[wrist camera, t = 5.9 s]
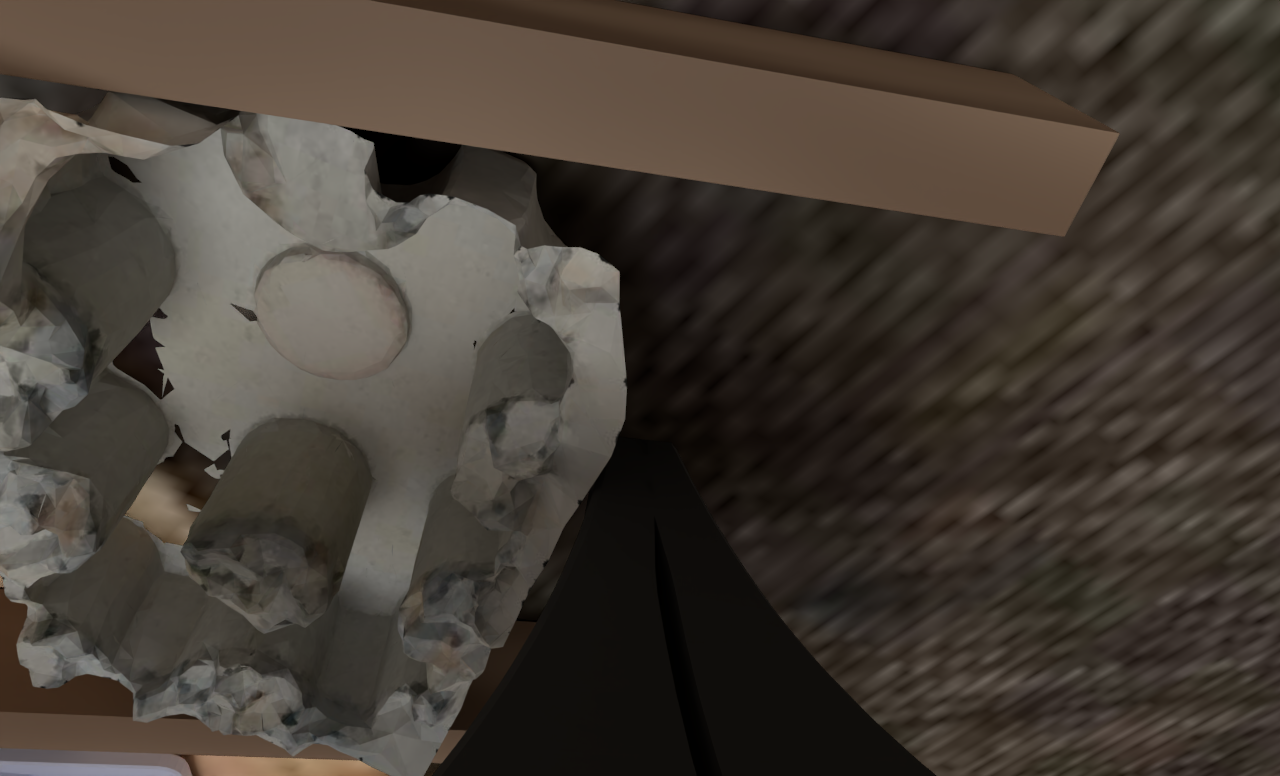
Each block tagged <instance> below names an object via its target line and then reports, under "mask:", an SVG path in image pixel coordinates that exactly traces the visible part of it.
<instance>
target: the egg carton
mask: <svg viewBox="0 0 1280 776" xmlns="http://www.w3.org/2000/svg"><path fill="white" fill-rule="evenodd" d="M108 156H110V157H115V158H117V159H118V160H120V161H121V162H123V163H124V164H126V165H128V167H129V168H130V170H131V171H132V172H133V174H134V175H135V177H136V178H137V179H138V180H139V181H141V182H142V183H132V182H131V181H130V180H128V179H127V178H125V177H123V176H121V175H119V174H117V173H115V172H114V171H113V170H112V169H111V166H110V162H109V159H108ZM536 176H537V174H536V173H535V172H534V171H533V170H532V168H531V167H530V166H529V165H527V164H526V163H525V162H524V161H522V160H519V159H517V158H515V157H513V156H511V155H508V154H506V153H504V152H502V151H501V150H494V149H488V148H481V147H475V146H468V145H462V146H461V147H460V149H459V151H458V152H457V154H456V155H455V157H454V158H453V159H452V160H451V161H450V163H449V164H448V165H447V166H446V167H445V168H444V169H443V170H442V171H441V172H440V173H439V174H437V175H435V176H433V177H432V178H430V179H428V180H426V181H423V182H420V183H417V184H413V185H396V184H383V183H380V180H379V173H378V167H377V161H376V155H375V148H374V143H373V142H371V141H368V140H365V139H363V138H361V137H360V136H358V135H356V134H355V133H353V132H351V131H350V130H347V129H344V128H342V127H339V126H337V125H331V124H324V123H318V122H311V121H305V120H298V119H291V118H285V117H278V116H272V115H265V114H259V113H252V112H246V111H239V110H233V109H226V108H219V107H213V106H206V105H200V104H193V103H187V102H180V101H174V100H167V99H161V98H154V97H148V96H141V95H134V94H128V93H121V92H115V91H108V92H107V94H106V95H105V97H104V98H103V100H102V102H101V103H100V104H98V105H96V106H94V107H92V108H90V109H87V110H85V111H83V112H80V113H77V114H68V113H62V112H56V111H50V110H48V109H46V108H45V107H44V106H42V105H41V104H40V103H39V102H38V101H37V100H36V99H17V98H1V97H0V576H2V578H3V584H4V591H5V595H6V597H7V598H8V599H9V600H10V601H11V602H17V603H23V604H26V605H27V606H28V610H27V618H26V621H25V623H24V625H23V628H22V630H21V633H20V635H19V638H18V641H17V644H16V645H17V653H18V658H19V662H20V665H22V666H24V667H26V668H28V669H29V674H30V677H31V681H32V685H33V686H34V687H39V688H45V689H49V688H58V687H60V686H62V685H64V684H66V683H67V682H69V681H70V680H71V679H73V678H74V677H75V676H80V675H84V674H91V675H96V676H100V677H105V678H109V679H113V680H117V681H119V682H120V683H121V684H122V685H124V686H125V687H126V688H128V689H129V690H130V691H131V692H133V721H139V722H145V723H147V722H150V721H153V720H156V719H159V718H162V717H165V716H170V715H177V714H187V715H190V716H194V717H196V718H198V719H199V720H200V721H201V722H202V723H204V724H205V725H206V726H207V727H209V728H210V729H211V731H212V732H214V731H217V730H219V731H220V732H221V733H222V734H223V735H229V734H232V735H241V736H252V735H257V736H259V737H261V738H263V739H265V740H267V741H269V742H271V743H273V744H275V745H277V746H279V747H281V748H283V749H285V750H286V751H287V752H288V753H289V754H290V755H291V756H293V757H294V756H295V755H296V754H298V753H299V752H301V751H302V750H303V749H305V748H307V747H308V746H310V745H312V744H323V745H328V746H330V747H332V748H334V749H336V750H338V751H339V752H342V753H344V754H347V755H349V756H352V757H354V758H357V759H358V760H360V761H362V762H364V763H366V764H368V765H369V766H371V767H373V768H375V769H377V770H379V771H382V772H384V773H386V774H388V775H390V776H424V774H425V772H426V771H427V769H428V767H429V765H430V763H431V762H432V760H433V758H434V756H435V755H436V753H437V751H438V749H439V747H440V746H441V744H442V742H443V740H444V738H445V737H446V735H447V733H448V731H449V729H450V727H451V726H452V724H453V722H454V720H455V719H456V717H457V715H458V713H459V712H460V710H461V708H462V705H463V702H464V700H465V697H466V694H467V692H468V689H469V686H470V684H471V683H472V681H473V680H475V679H476V678H477V677H479V676H480V675H481V674H482V673H483V671H484V670H485V667H486V664H487V661H488V658H489V654H490V651H491V649H492V648H499V647H503V646H504V644H505V642H506V640H507V638H508V636H509V634H510V631H511V629H512V627H513V625H514V623H515V621H516V619H517V617H518V614H519V612H520V610H521V608H522V606H523V603H524V601H525V599H526V597H527V595H528V593H529V591H530V589H531V587H532V586H533V584H534V582H535V581H536V579H537V578H538V576H539V575H540V573H541V572H542V570H543V569H544V567H545V566H546V564H547V562H548V561H549V558H550V556H551V554H552V552H553V550H554V547H555V545H556V543H557V541H558V539H559V537H560V534H561V532H562V530H563V528H564V526H565V525H566V523H567V522H568V521H569V519H570V518H571V516H572V515H573V513H574V512H575V511H576V509H577V508H578V506H579V505H580V503H581V502H582V500H583V499H584V497H585V496H586V494H587V493H588V491H589V490H590V488H591V487H592V485H593V484H594V482H595V481H596V479H597V478H598V476H599V475H600V473H601V472H602V470H603V468H604V467H605V465H606V464H607V462H608V461H609V459H610V458H611V456H612V453H613V450H614V448H615V445H616V442H617V440H618V437H619V434H620V432H621V429H622V426H623V424H624V421H625V413H626V395H627V378H626V367H625V356H624V346H623V335H622V325H621V314H620V304H619V294H620V272H619V271H618V270H617V269H616V268H615V267H613V266H612V265H611V264H610V263H609V262H608V261H606V260H605V259H604V258H603V257H602V256H600V255H599V254H597V253H594V252H592V251H589V250H586V249H584V248H581V247H567V246H566V245H564V244H563V242H562V241H561V240H560V238H558V237H557V236H556V235H555V234H554V232H553V231H552V229H551V228H550V227H549V225H548V224H547V223H546V221H545V220H544V218H543V215H542V212H541V209H540V206H539V203H538V199H537V190H536ZM231 303H232V304H234V305H237V306H240V307H243V308H246V309H249V310H252V311H253V312H254V313H255V315H256V316H257V321H251V322H250V321H249V320H248V319H246V318H245V317H244V316H243V315H242V314H241V313H240V312H239V311H238V310H237V309H235V308H234V307H233V306H232V305H230V304H231ZM158 308H160V309H161V310H162V311H163V313H164V314H166V315H167V316H168V317H167V318H166V319H160V318H155V317H152V316H153V315H154V313H155V312H156V311H157V309H158ZM514 308H515V312H513V313H511V314H509V313H510V312H511V311H512V310H513V309H514ZM508 314H509V315H508ZM149 320H150V323H151V329H152V335H153V338H154V339H155V340H156V341H158V342H159V343H161V344H162V345H163V346H165V347H156V351H157V353H158V356H159V358H160V360H161V363H162V365H163V368H164V370H161V369H158V370H160V371H161V372H163V373H164V377H163V392H164V389H165V385H166V381H167V378H169V380H170V382H171V384H172V385H173V387H174V390H173V391H171V392H170V393H169V394H168V395H166V396H165V397H164V398H163V399H159V398H158V397H157V396H156V395H154V394H153V393H152V392H151V391H150V390H149V389H148V388H147V387H146V386H145V385H144V384H141V383H140V382H138V381H137V380H135V379H133V378H132V377H130V376H128V375H127V374H125V373H124V372H122V371H120V370H119V369H117V368H116V367H115V366H114V365H113V360H114V359H115V358H116V357H117V356H118V354H119V353H120V352H121V351H122V350H123V349H124V348H125V347H126V346H127V345H128V344H129V343H130V342H131V341H132V339H133V338H134V337H135V336H136V335H137V334H138V333H139V332H140V331H141V330H142V328H143V327H144V326H145V325H146V323H147V322H148V321H149ZM474 340H475V341H477V343H476V346H475V349H474V345H473V344H472V343H474ZM163 392H162V396H163ZM175 424H177V425H179V427H180V430H181V433H182V436H183V439H184V440H185V441H184V442H185V443H187V444H188V445H190V446H191V447H193V448H194V449H196V450H197V451H199V452H200V453H202V454H204V455H205V456H207V457H208V458H210V459H211V460H213V461H215V460H216V459H217V458H218V457H220V456H221V455H222V454H223V453H224V452H226V451H227V450H229V448H228V444H227V441H226V440H225V441H223V440H222V438H221V437H222V436H221V435H222V434H224V433H225V432H227V431H228V430H230V438H231V439H229V444H230V451H231V460H230V462H229V463H228V465H227V467H226V469H225V470H217V469H216V467H215V464H213V465H211V466H209V467H208V468H206V469H204V470H205V471H206V472H207V473H208V474H209V475H210V476H212V477H214V478H216V479H220V480H219V481H218V483H217V485H216V487H215V489H214V490H213V492H212V494H211V496H210V498H209V499H208V501H207V502H206V504H205V506H204V507H203V509H202V510H200V509H197V508H195V507H193V506H190V505H188V504H186V505H187V506H188V509H189V511H195V512H200V513H199V515H198V516H197V518H196V519H195V521H194V522H193V524H192V526H191V527H190V531H189V535H188V539H187V540H186V542H185V543H184V545H183V546H181V545H176V544H171V543H163V542H162V540H160V539H159V538H157V537H156V536H155V535H153V534H152V533H150V532H149V531H148V530H146V529H145V528H144V525H143V522H142V521H138V520H134V519H132V518H129V517H127V516H125V513H126V512H127V510H128V509H129V508H130V506H131V505H132V503H133V502H134V500H135V499H136V497H137V495H138V494H139V492H140V490H141V489H142V487H143V486H144V484H145V482H146V481H147V479H148V478H149V477H150V475H151V474H152V472H153V470H154V469H155V467H156V465H158V464H160V463H161V462H164V459H165V458H166V457H172V456H173V455H174V454H175V452H176V451H177V449H178V448H179V446H180V445H181V443H182V441H181V440H180V439H179V437H178V436H177V434H176V433H175V426H174V425H175ZM220 474H222V476H221V477H220Z"/></svg>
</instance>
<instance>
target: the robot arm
mask: <svg viewBox="0 0 1280 776" xmlns="http://www.w3.org/2000/svg"><path fill="white" fill-rule="evenodd" d="M0 776H192V774H191V771H190V767H189V765H188V763H187V762H186V760H185V759H183V758H182V757H180V756H178V755H175V754H157V753H127V752H98V751H68V750H39V749H9V748H0ZM432 776H936V775H935V774H934V773H933V772H931V771H930V770H929V769H928V768H927V767H925V766H924V765H923V764H922V763H921V762H919V761H918V760H917V759H916V758H915V757H914V756H913V755H911V754H910V753H909V752H908V751H907V750H906V749H905V748H904V747H903V746H902V745H901V744H899V743H898V742H897V741H896V740H895V739H894V738H893V737H892V736H891V735H890V734H888V733H887V732H886V731H885V730H884V729H883V728H882V727H881V726H880V725H879V724H877V723H876V722H875V721H874V720H873V719H872V718H871V717H870V716H869V715H868V714H867V713H866V712H865V711H864V710H863V709H862V708H861V707H860V706H859V705H858V704H857V703H856V702H855V701H854V700H853V698H852V697H851V696H850V695H849V694H848V693H847V692H846V691H845V690H844V689H843V688H842V687H841V686H840V685H839V684H838V683H837V682H836V681H835V680H834V679H833V678H832V677H831V676H830V675H829V674H828V673H827V672H826V671H825V670H824V669H823V668H822V666H821V665H820V664H819V663H818V662H817V661H816V660H815V658H814V657H813V656H812V655H811V654H810V653H809V652H808V650H807V649H806V648H805V647H804V646H803V645H802V644H801V642H800V641H799V640H798V639H797V637H796V636H795V635H794V634H793V633H792V631H791V630H790V629H789V628H788V626H787V625H786V624H785V623H784V621H783V620H782V619H781V618H780V616H779V615H778V614H777V613H776V611H775V610H774V609H773V607H772V606H771V605H770V603H769V602H768V601H767V599H766V598H765V597H764V595H763V594H762V592H761V591H760V590H759V588H758V587H757V585H756V584H755V582H754V581H753V580H752V578H751V577H750V575H749V574H748V572H747V571H746V570H745V568H744V567H743V565H742V564H741V562H740V561H739V559H738V557H737V556H736V554H735V553H734V551H733V550H732V548H731V547H730V545H729V543H728V542H727V540H726V538H725V537H724V535H723V534H722V532H721V530H720V529H719V527H718V525H717V524H716V522H715V521H714V519H713V517H712V515H711V514H710V512H709V510H708V508H707V507H706V505H705V503H704V501H703V499H702V498H701V496H700V494H699V492H698V490H697V489H696V487H695V485H694V483H693V481H692V479H691V477H690V475H689V473H688V471H687V469H686V467H685V465H684V463H683V461H682V459H681V457H680V455H679V453H678V451H677V449H676V448H675V447H674V445H673V444H672V443H670V442H660V441H651V440H641V439H631V438H621V437H618V440H617V442H616V445H615V448H614V450H613V453H612V456H611V458H610V459H609V461H608V462H607V464H606V465H605V467H604V468H603V470H602V472H601V473H600V475H599V476H598V478H597V479H596V481H595V482H594V484H593V485H592V487H591V488H590V491H589V496H588V501H587V506H586V512H585V517H584V520H583V523H582V526H581V529H580V532H579V534H578V537H577V539H576V541H575V544H574V546H573V548H572V551H571V553H570V555H569V558H568V560H567V562H566V565H565V567H564V569H563V572H562V574H561V576H560V578H559V580H558V582H557V584H556V586H555V588H554V590H553V592H552V594H551V596H550V598H549V600H548V602H547V604H546V606H545V608H544V609H543V611H542V613H541V615H540V617H539V619H538V621H537V622H536V624H535V626H534V628H533V629H532V631H531V633H530V635H529V636H528V638H527V640H526V641H525V643H524V645H523V646H522V648H521V650H520V651H519V653H518V655H517V657H516V658H515V660H514V661H513V663H512V665H511V666H510V668H509V669H508V671H507V673H506V674H505V676H504V677H503V679H502V680H501V682H500V683H499V685H498V686H497V688H496V689H495V691H494V692H493V693H492V695H491V696H490V698H489V699H488V701H487V702H486V704H485V705H484V706H483V708H482V709H481V711H480V712H479V714H478V715H477V717H476V718H475V720H474V721H473V722H472V724H471V725H470V727H469V728H468V730H467V731H466V732H465V734H464V735H463V736H462V738H461V739H460V740H459V742H458V743H457V744H456V746H455V747H454V748H453V750H452V751H451V752H450V753H449V755H448V756H447V757H446V758H445V760H444V761H443V762H442V764H441V765H440V766H439V767H438V769H437V770H436V771H435V772H434V774H433V775H432Z"/></svg>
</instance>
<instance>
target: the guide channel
mask: <svg viewBox="0 0 1280 776" xmlns="http://www.w3.org/2000/svg"><path fill="white" fill-rule="evenodd" d="M0 74H4V75H10V76H17V77H23V78H30V79H36V80H43V81H49V82H56V83H62V84H69V85H76V86H82V87H89V88H95V89H102V90H108V91H115V92H121V93H128V94H134V95H141V96H148V97H154V98H161V99H167V100H174V101H180V102H187V103H193V104H200V105H206V106H213V107H219V108H226V109H233V110H239V111H246V112H252V113H259V114H265V115H272V116H278V117H285V118H291V119H298V120H305V121H311V122H318V123H324V124H331V125H337V126H344V127H350V128H357V129H363V130H370V131H376V132H383V133H390V134H396V135H403V136H409V137H416V138H422V139H429V140H435V141H442V142H448V143H455V144H462V145H468V146H475V147H481V148H488V149H494V150H501V151H507V152H514V153H520V154H527V155H534V156H540V157H547V158H553V159H560V160H566V161H573V162H579V163H586V164H592V165H599V166H605V167H612V168H619V169H625V170H632V171H638V172H645V173H651V174H658V175H664V176H671V177H677V178H684V179H691V180H697V181H704V182H710V183H717V184H723V185H730V186H736V187H743V188H749V189H756V190H762V191H769V192H776V193H782V194H789V195H795V196H802V197H808V198H815V199H821V200H828V201H834V202H841V203H848V204H854V205H861V206H867V207H874V208H880V209H887V210H893V211H900V212H906V213H913V214H919V215H926V216H933V217H939V218H946V219H952V220H959V221H965V222H972V223H978V224H985V225H991V226H998V227H1005V228H1011V229H1018V230H1024V231H1031V232H1037V233H1044V234H1050V235H1057V236H1063V237H1064V236H1065V234H1066V232H1067V230H1068V229H1069V227H1070V225H1071V223H1072V221H1073V219H1074V217H1075V216H1076V214H1077V212H1078V210H1079V208H1080V206H1081V204H1082V203H1083V201H1084V199H1085V197H1086V195H1087V193H1088V191H1089V190H1090V188H1091V186H1092V184H1093V182H1094V180H1095V179H1096V177H1097V175H1098V173H1099V171H1100V169H1101V167H1102V166H1103V164H1104V162H1105V160H1106V158H1107V156H1108V154H1109V153H1110V151H1111V149H1112V147H1113V145H1114V143H1115V141H1116V140H1117V138H1118V136H1119V134H1120V133H1118V132H1116V131H1115V130H1113V129H1111V128H1109V127H1107V126H1106V125H1104V124H1102V123H1100V122H1098V121H1097V120H1095V119H1093V118H1091V117H1089V116H1088V115H1086V114H1084V113H1082V112H1080V111H1078V110H1077V109H1075V108H1073V107H1071V106H1069V105H1068V104H1066V103H1064V102H1062V101H1060V100H1059V99H1057V98H1055V97H1053V96H1051V95H1050V94H1048V93H1046V92H1044V91H1042V90H1041V89H1039V88H1037V87H1035V86H1033V85H1031V84H1030V83H1028V82H1026V81H1024V80H1022V79H1021V78H1019V77H1017V76H1015V75H1013V74H1009V73H1003V72H998V71H993V70H987V69H982V68H977V67H971V66H966V65H960V64H955V63H950V62H944V61H939V60H934V59H928V58H923V57H917V56H912V55H907V54H901V53H896V52H891V51H885V50H880V49H874V48H869V47H864V46H858V45H853V44H848V43H842V42H837V41H831V40H826V39H821V38H815V37H810V36H805V35H799V34H794V33H788V32H783V31H778V30H772V29H767V28H762V27H756V26H751V25H745V24H740V23H735V22H729V21H724V20H719V19H713V18H708V17H702V16H697V15H692V14H686V13H681V12H676V11H670V10H665V9H659V8H654V7H649V6H643V5H638V4H633V3H627V2H622V1H616V0H0ZM27 610H28V606H27V605H26V604H23V603H17V602H11V601H10V600H9V599H8V598H7V597H6V595H5V591H4V589H0V748H9V749H39V750H68V751H98V752H127V753H157V754H186V755H216V756H245V757H275V758H304V759H334V760H358V759H357V758H354V757H352V756H349V755H347V754H344V753H342V752H339V751H338V750H336V749H334V748H332V747H330V746H328V745H323V744H312V745H310V746H308V747H307V748H305V749H303V750H302V751H301V752H299V753H298V754H296V755H295V756H294V757H293V756H291V755H290V754H289V753H288V752H287V751H286V750H285V749H283V748H281V747H279V746H277V745H275V744H273V743H271V742H269V741H267V740H265V739H263V738H261V737H259V736H257V735H252V736H241V735H232V734H229V735H223V734H222V733H221V732H220V731H219V730H217V731H214V732H212V731H211V729H210V728H209V727H207V726H206V725H205V724H204V723H202V722H201V721H200V720H199V719H198V718H196V717H194V716H190V715H187V714H177V715H170V716H165V717H162V718H159V719H156V720H153V721H150V722H147V723H145V722H139V721H133V692H131V691H130V690H129V689H128V688H126V687H125V686H124V685H122V684H121V683H120V682H119V681H117V680H113V679H109V678H105V677H100V676H96V675H91V674H84V675H80V676H75V677H74V678H73V679H71V680H70V681H69V682H67V683H66V684H64V685H62V686H60V687H58V688H49V689H45V688H39V687H34V686H33V685H32V681H31V677H30V674H29V669H28V668H26V667H24V666H22V665H20V662H19V658H18V653H17V645H16V644H17V641H18V638H19V635H20V633H21V630H22V628H23V625H24V623H25V621H26V618H27ZM535 624H536V622H526V621H515V623H514V625H513V627H512V629H511V631H510V634H509V636H508V638H507V640H506V642H505V644H504V646H503V647H499V648H492V649H491V651H490V654H489V658H488V661H487V664H486V667H485V670H484V671H483V673H482V674H481V675H480V676H479V677H477V678H476V679H475V680H473V681H472V683H471V684H470V686H469V689H468V692H467V694H466V697H465V700H464V702H463V705H462V708H461V710H460V712H459V713H458V715H457V717H456V719H455V720H454V722H453V724H452V726H451V727H450V729H449V731H448V733H447V735H446V737H445V738H444V740H443V742H442V744H441V746H440V747H439V749H438V751H437V753H436V755H435V756H434V758H433V760H432V762H431V763H442V762H443V761H444V760H445V758H446V757H447V756H448V755H449V753H450V752H451V751H452V750H453V748H454V747H455V746H456V744H457V743H458V742H459V740H460V739H461V738H462V736H463V735H464V734H465V732H466V731H467V730H468V728H469V727H470V725H471V724H472V722H473V721H474V720H475V718H476V717H477V715H478V714H479V712H480V711H481V709H482V708H483V706H484V705H485V704H486V702H487V701H488V699H489V698H490V696H491V695H492V693H493V692H494V691H495V689H496V688H497V686H498V685H499V683H500V682H501V680H502V679H503V677H504V676H505V674H506V673H507V671H508V669H509V668H510V666H511V665H512V663H513V661H514V660H515V658H516V657H517V655H518V653H519V651H520V650H521V648H522V646H523V645H524V643H525V641H526V640H527V638H528V636H529V635H530V633H531V631H532V629H533V628H534V626H535Z"/></svg>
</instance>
